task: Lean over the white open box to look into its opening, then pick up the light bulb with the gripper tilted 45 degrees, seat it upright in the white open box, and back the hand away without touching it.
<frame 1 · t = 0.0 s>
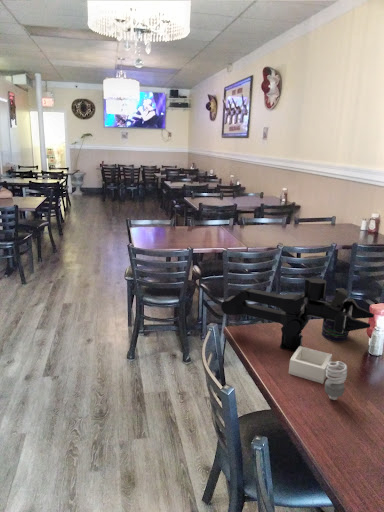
hand: (372, 320, 130), 17 cm above the table, tool horizontal, fingers open, 9 cm apart
storage jar: (334, 336, 156), on the table
white open box: (309, 370, 131), on the table
light bulb: (332, 400, 116), on the table
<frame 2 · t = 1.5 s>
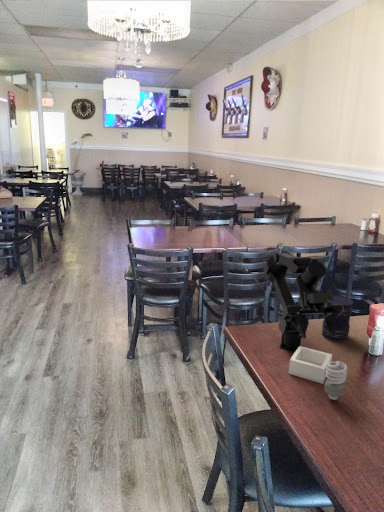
hand: (319, 337, 124), 14 cm above the table, tool tilted 45°, fingers open, 9 cm apart
nothing on the table moved.
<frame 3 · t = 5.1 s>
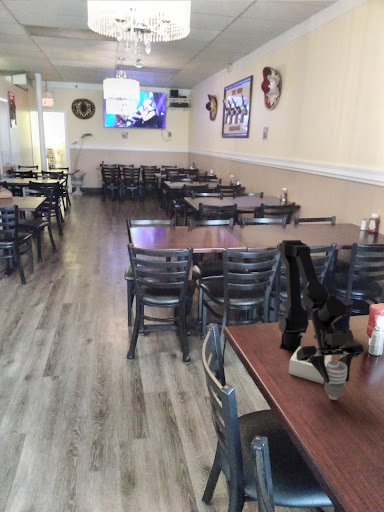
hand: (337, 382, 113), 7 cm above the table, tool tilted 45°, fingers closed on light bulb, 5 cm apart
light bulb: (332, 400, 116), on the table, touching gripper
everything else where it was.
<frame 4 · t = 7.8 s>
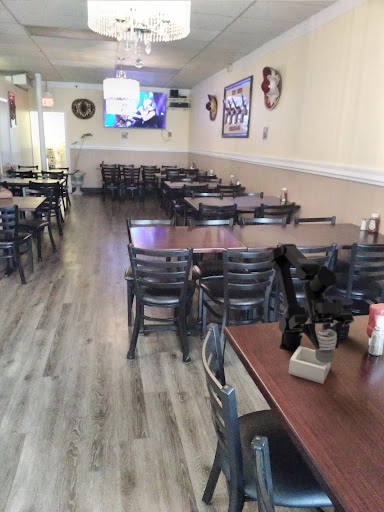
hand: (327, 348, 118), 13 cm above the table, tool tilted 45°, fingers closed on light bulb, 5 cm apart
light bulb: (322, 366, 122), point 6 cm above the table, touching gripper
everything else where it was.
when the fingers open (8 cm above the table, at t = 10.3 s): light bulb stays where it is, resting on white open box.
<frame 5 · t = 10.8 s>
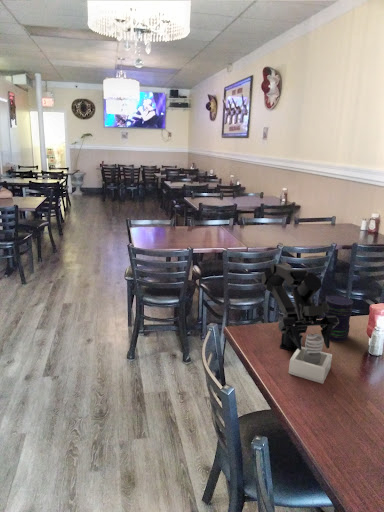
hand: (314, 349, 127), 9 cm above the table, tool tilted 45°, fingers open, 9 cm apart
light bulb: (310, 368, 130), point 1 cm above the table, touching white open box
everything else where it was.
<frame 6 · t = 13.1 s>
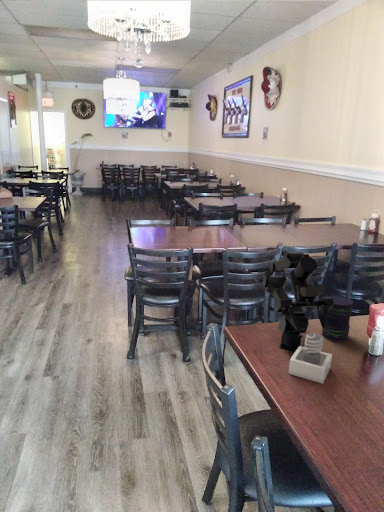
hand: (310, 329, 129), 14 cm above the table, tool tilted 45°, fingers open, 9 cm apart
nothing on the table moved.
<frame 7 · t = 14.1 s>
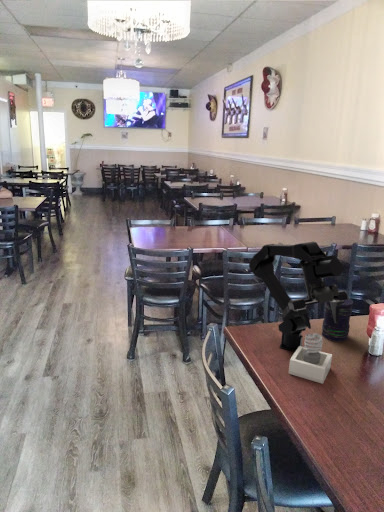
hand: (323, 326, 132), 13 cm above the table, tool tilted 20°, fingers open, 9 cm apart
nothing on the table moved.
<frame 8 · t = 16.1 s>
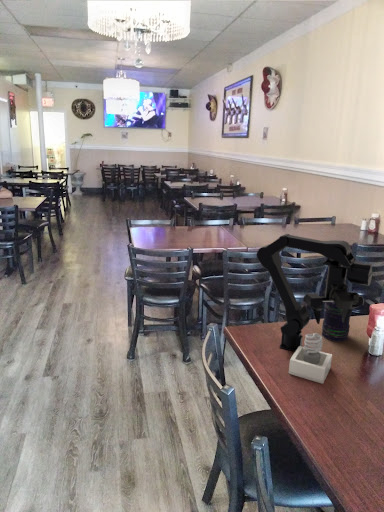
hand: (330, 322, 136), 13 cm above the table, tool pointing down, fingers open, 9 cm apart
nothing on the table moved.
at the end: light bulb 0.3 cm from the white open box (horizontally); light bulb tilted 0°; the gripper is holding nothing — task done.
